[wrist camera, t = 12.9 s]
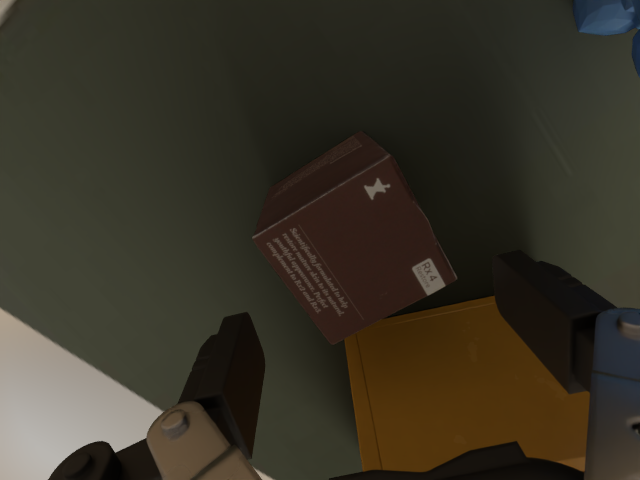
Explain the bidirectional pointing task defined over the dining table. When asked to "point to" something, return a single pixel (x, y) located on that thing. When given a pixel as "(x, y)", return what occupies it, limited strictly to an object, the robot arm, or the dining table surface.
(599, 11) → the grapes
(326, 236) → the box
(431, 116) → the dining table surface
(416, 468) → the bin
